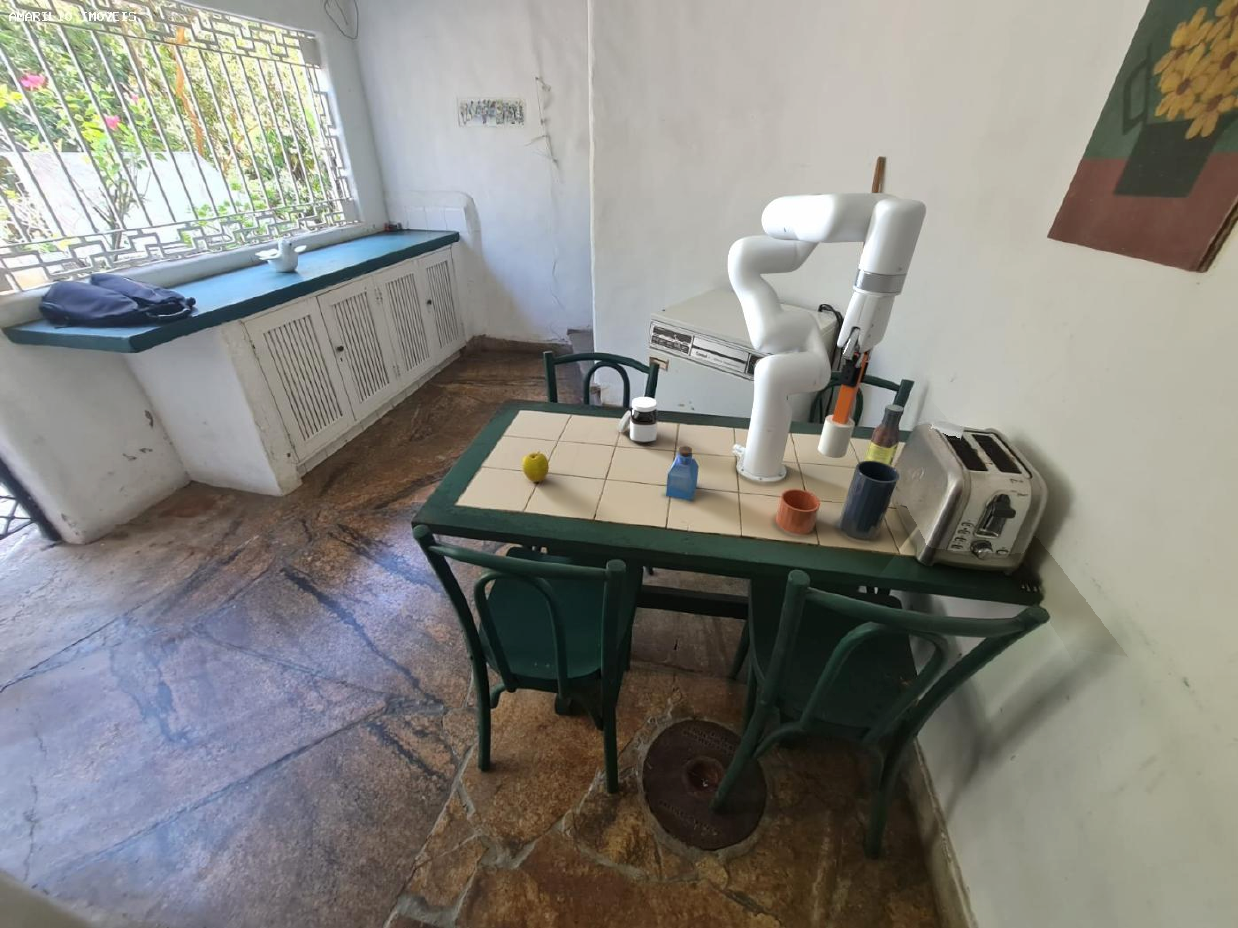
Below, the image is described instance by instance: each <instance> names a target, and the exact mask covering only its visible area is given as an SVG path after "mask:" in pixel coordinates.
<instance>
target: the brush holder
mask: <svg viewBox="0 0 1238 928" xmlns="http://www.w3.org/2000/svg"><path fill="white" fill-rule="evenodd" d="M820 508H821V500H820V499H819V498H818V496H817V495H815V494H813V493H812V492H810V491H807V490H804V489H800V488H799V489H798V488H790V489H787V490H786V489H785V490H784V491H782V493H781V496H780V499H779V503H778V507H777V511H776V515H775V521H776V524H777V525H778V526H779V527H780V528H781V529H782V530H783V531H785V532H788V533H791V534H795V535H805V534H808V533H811V532H812V531H813V530H814V527H815V526H816V525H815V524H816V520H817V517H818V514H819V510H820Z"/></svg>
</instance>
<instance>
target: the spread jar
mask: <svg viewBox="0 0 1238 928" xmlns="http://www.w3.org/2000/svg"><path fill="white" fill-rule="evenodd" d="M657 406H658V402H657V400H656V399H655V398H652V397H649V396H638V397H635V398H633V399H632V402H631V409H630V410H627V411H626V412H625V413H624V415H623V416H622V417H621V419H620V421H619V423H618V425H617V429H616V431H617V432H619V433H620V434H623V433H624V432H625V431H626V430H627V429H628V427H629V438H630V441H631V442H632V443H635V444H637V445H644V446H645V445H650V444H653V443H655V442H656V440H657V436H658V435H657V433H658V419H659V418H658V417H659V415H658V408H657Z"/></svg>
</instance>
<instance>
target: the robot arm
mask: <svg viewBox="0 0 1238 928" xmlns="http://www.w3.org/2000/svg"><path fill="white" fill-rule="evenodd" d="M926 213H927V207H926V204H925V203H924V202H923V201H920V200H917V199H909V198H900V197H898V196H896V195H893V194H890V193H886V192H846V193H845V192H844V193H842V192H841V193H828V194H827V193H826V194H825V193H824V194H823V193H808V194H796V195H786V196H781V197H777V198H775V199H774V200H772V201H771V202H769V203H768V205H766V207H765V208H764V210H763V212H762V215H761V226H762V229H763V231H764V232H765V234H760V235H749V236H744V237H743V238H742V237H741V238H740V239H738V240H736V241H735V242H734V243H733V244H732V246H731V247H730V249H729V252H728V256H727V273H728V277H729V282H730V284H731V287H732V289H733V291H734V293H735V295H736V297H737V298H738V300H739V303H740V305H741V309H742V313H743V316H744V319H745V324H746V327H747V331H748V335H749V338H750V341H751V345H752V347H753V349H754V350H755V351H756V352H758V353H761V354H771V355H767V356H765V357H763V358H761V359H760V360H759V361H758V362H757V364H756V365H755V368H754V372H753V381H754V382H753V385H754V386H753V387H754V391H753V393H754V394H753V402H752V403H753V404H752V411H751V417H750V422H749V428H748V433H747V439H746V445H745V446H743V445H741V444H738V443H735V444H734V445H733V447H732V452H731V454H732V455H733V456H735V457H738V458H739V460H737V463H736V471H737V473H738V474H741V475H742V476H743V477H745V478H747V479H748V480H752V481H755V482H759V483H775V482H779V481H781V480H783V479H785V477H786V475H787V467H786V466H785V465H784V463H783V460H784V456H785V452H786V447H787V443H788V439H789V433H790V429H791V426H792V425H791V424H792V420H793V407H792V405H791V403H790V402H789V400H788V397H789V396H792V395H797V394H806V393H807V394H808V393H813V392H814V393H815V392H818V391H821V390H824V389H825V388H826V387H827V386H828V384H829V383H830V380H831V376H832V368H831V362H830V357H829V355H828V351H827V348H826V345H825V341H824V338H823V334H822V331H821V328H820V325H819V322H818V320H817V319H816V317H815V316H814V315H813V314H812V313H810V312H809V311H806V310H800V309H799V310H797V309H796V310H784V309H783V308H782V306H781V304H780V301H779V296H778V294H777V292H776V290H775V288H774V287H773V286H772V285H771V283H769V282H768V281H767V280H766V279H765V278H763V276H762V275H764V274H765V275H768V274H785V273H786V274H788V273H792V272H795V271H797V270H798V269H800V268H801V267H802V266H803V265H804V264H805V262H806V261H807V259H808V258H809V257H810V256H811V254H812V253H813V252H814V250H815V249H816V248H817V246H818V245H819V244H837V243H864V245H863V248H862V253H861V256H860V260H859V265H858V268H857V272H856V275H855V280H854V283H853V290H854V292H853V295H852V297H851V299H850V302H849V304H848V307H847V310H846V313H845V316H844V320H843V323H842V326H841V329H840V332H839V336H838V339H837V343H836V344H837V347H838V348H841V349H842V348H843V347H845V349H844V352H843V354H842V358H843V362H842V367H841V370H840V375H839V379H838V384H839V385H845V386H849V387H852V388H855V387H856V386H857V383H858V380H859V376H860V373H861V369H862V367H860V365H861V362H862V359H863V356H864V354H865V355H868V357H867V360H866V364H865V367H864V370H863V374H862V377H861V381H860V384H862V383H863V382H864V380H865V377H866V375H867V371H868V367H869V364H870V362H869V361H870V360H871V358H872V355H873V351H874V347H876V346H877V345H878V344H880V343H881V342H882V341H883V338H884V337H885V335H886V331H887V328H888V325H889V322H890V318H891V314H892V312H893V311H892V310H893V308H894V302H895V298H896V296H899V295H901V294H902V291H903V288H904V285H905V282H906V278H907V276H908V272H909V269H910V266H911V262H912V260H913V256H914V252H915V250H916V246H917V243H918V240H919V237H920V233H921V230H922V227H923V225H924V220H925V217H926ZM854 353H857V354H859V355H858V358H857V355H855V354H854Z"/></svg>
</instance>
